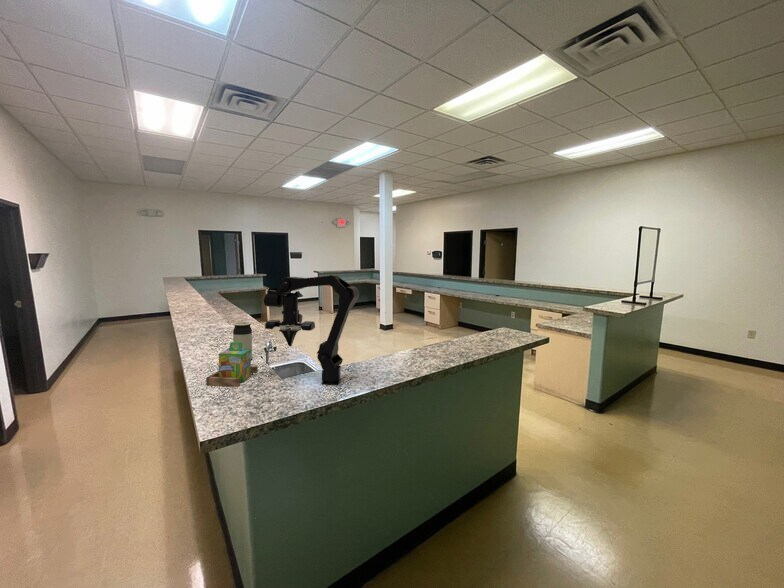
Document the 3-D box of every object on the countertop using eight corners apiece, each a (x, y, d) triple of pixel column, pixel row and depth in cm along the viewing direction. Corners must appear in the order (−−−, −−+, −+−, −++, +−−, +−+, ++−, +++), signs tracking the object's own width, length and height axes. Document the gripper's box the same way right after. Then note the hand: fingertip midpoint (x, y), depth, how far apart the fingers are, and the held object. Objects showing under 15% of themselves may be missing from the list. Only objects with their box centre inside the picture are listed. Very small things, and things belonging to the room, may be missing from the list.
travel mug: (244, 363, 145) (244, 325, 144) (229, 362, 147) (229, 323, 145) (255, 358, 153) (255, 322, 151) (241, 357, 154) (240, 321, 153)
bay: (257, 373, 133) (257, 366, 133) (238, 387, 118) (238, 379, 117) (229, 371, 133) (229, 365, 133) (206, 385, 118) (206, 377, 118)
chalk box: (217, 383, 120) (217, 345, 119) (228, 375, 129) (227, 339, 128) (243, 383, 121) (242, 345, 120) (251, 375, 130) (251, 340, 129)
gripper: (318, 306, 135) (318, 342, 136) (276, 304, 136) (276, 340, 137) (311, 309, 124) (310, 348, 125) (264, 308, 124) (264, 346, 126)
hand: (290, 346), depth 128 cm, fingers closed
